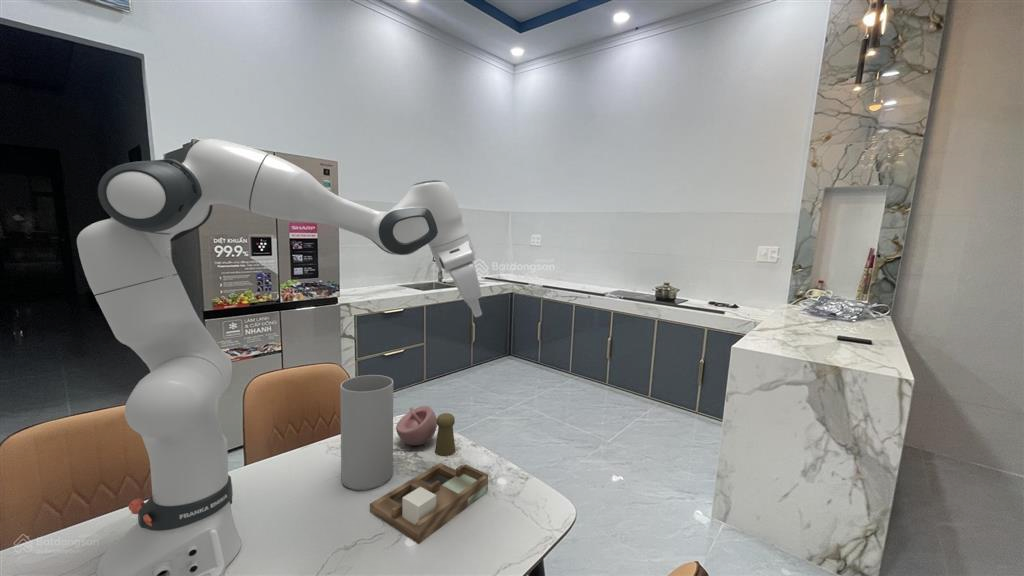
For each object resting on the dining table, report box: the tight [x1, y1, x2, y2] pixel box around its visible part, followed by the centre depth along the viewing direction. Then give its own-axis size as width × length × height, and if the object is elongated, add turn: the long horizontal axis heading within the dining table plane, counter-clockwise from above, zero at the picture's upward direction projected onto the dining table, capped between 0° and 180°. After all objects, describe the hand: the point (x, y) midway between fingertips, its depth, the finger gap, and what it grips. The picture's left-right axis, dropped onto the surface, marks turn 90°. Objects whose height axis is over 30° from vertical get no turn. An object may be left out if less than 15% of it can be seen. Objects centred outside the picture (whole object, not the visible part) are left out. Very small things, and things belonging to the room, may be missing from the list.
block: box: [402, 487, 436, 525], centre depth 88 cm, size 5×5×4 cm
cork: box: [434, 412, 456, 457], centre depth 119 cm, size 6×6×11 cm
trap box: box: [369, 462, 489, 545], centre depth 96 cm, size 23×16×4 cm
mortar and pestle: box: [395, 405, 438, 446], centre depth 123 cm, size 12×12×11 cm
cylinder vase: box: [339, 374, 394, 491], centre depth 104 cm, size 12×12×25 cm
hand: (475, 310), depth 93 cm, fingers open, 8 cm apart
